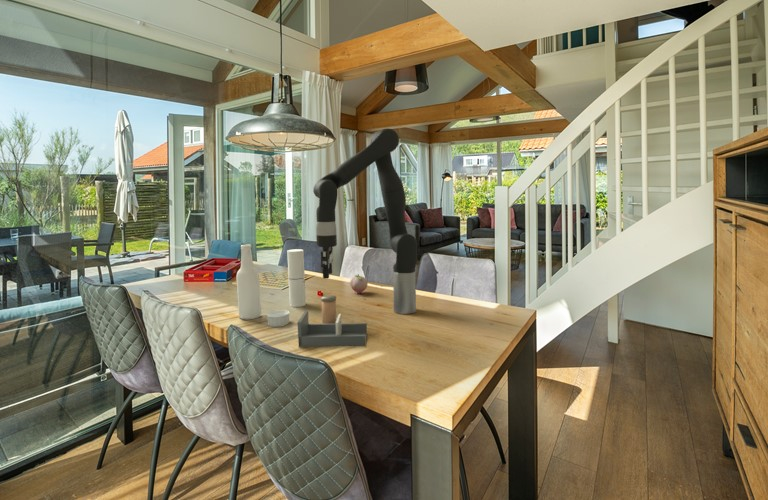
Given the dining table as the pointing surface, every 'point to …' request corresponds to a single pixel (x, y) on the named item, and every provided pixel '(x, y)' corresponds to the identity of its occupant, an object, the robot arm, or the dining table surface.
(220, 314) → the dining table surface
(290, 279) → the cylindrical container
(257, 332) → the dining table surface
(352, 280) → the decorative fruit
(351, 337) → the lane
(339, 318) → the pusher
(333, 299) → the jar
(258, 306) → the alcohol
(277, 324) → the ramekin
